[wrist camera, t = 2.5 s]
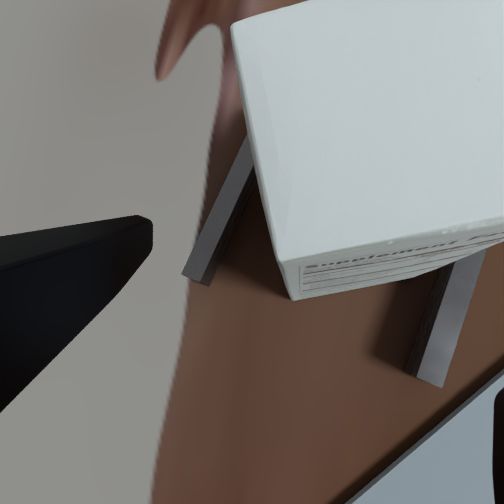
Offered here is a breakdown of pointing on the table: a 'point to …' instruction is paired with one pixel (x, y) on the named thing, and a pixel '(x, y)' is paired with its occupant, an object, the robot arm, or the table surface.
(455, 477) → the mat
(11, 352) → the robot arm
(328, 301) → the table surface
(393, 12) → the supplement box
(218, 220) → the cradle
